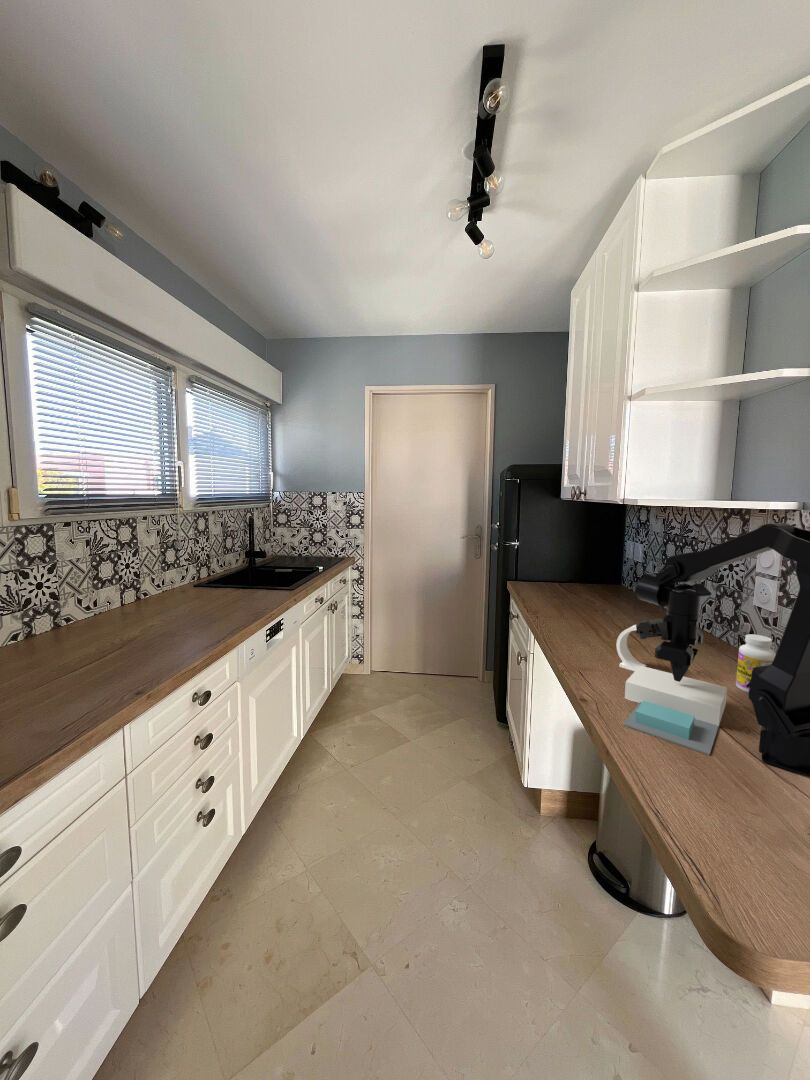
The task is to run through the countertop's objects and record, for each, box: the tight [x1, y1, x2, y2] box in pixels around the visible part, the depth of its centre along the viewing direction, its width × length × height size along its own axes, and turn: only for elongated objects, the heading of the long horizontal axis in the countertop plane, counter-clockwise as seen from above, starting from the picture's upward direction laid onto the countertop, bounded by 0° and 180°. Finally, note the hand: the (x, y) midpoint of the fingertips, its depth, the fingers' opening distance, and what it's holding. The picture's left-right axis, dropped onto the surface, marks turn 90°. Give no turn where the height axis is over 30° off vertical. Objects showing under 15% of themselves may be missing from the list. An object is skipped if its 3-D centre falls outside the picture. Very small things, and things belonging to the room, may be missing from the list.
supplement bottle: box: [735, 633, 776, 693], centre depth 96 cm, size 7×7×13 cm
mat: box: [622, 702, 720, 756], centre depth 81 cm, size 14×12×1 cm
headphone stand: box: [615, 623, 647, 672], centre depth 109 cm, size 5×6×12 cm
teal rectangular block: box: [635, 701, 695, 740], centre depth 82 cm, size 9×6×2 cm, turn 47°
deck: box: [624, 666, 728, 727], centre depth 91 cm, size 17×12×4 cm
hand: (677, 680), depth 90 cm, fingers closed
